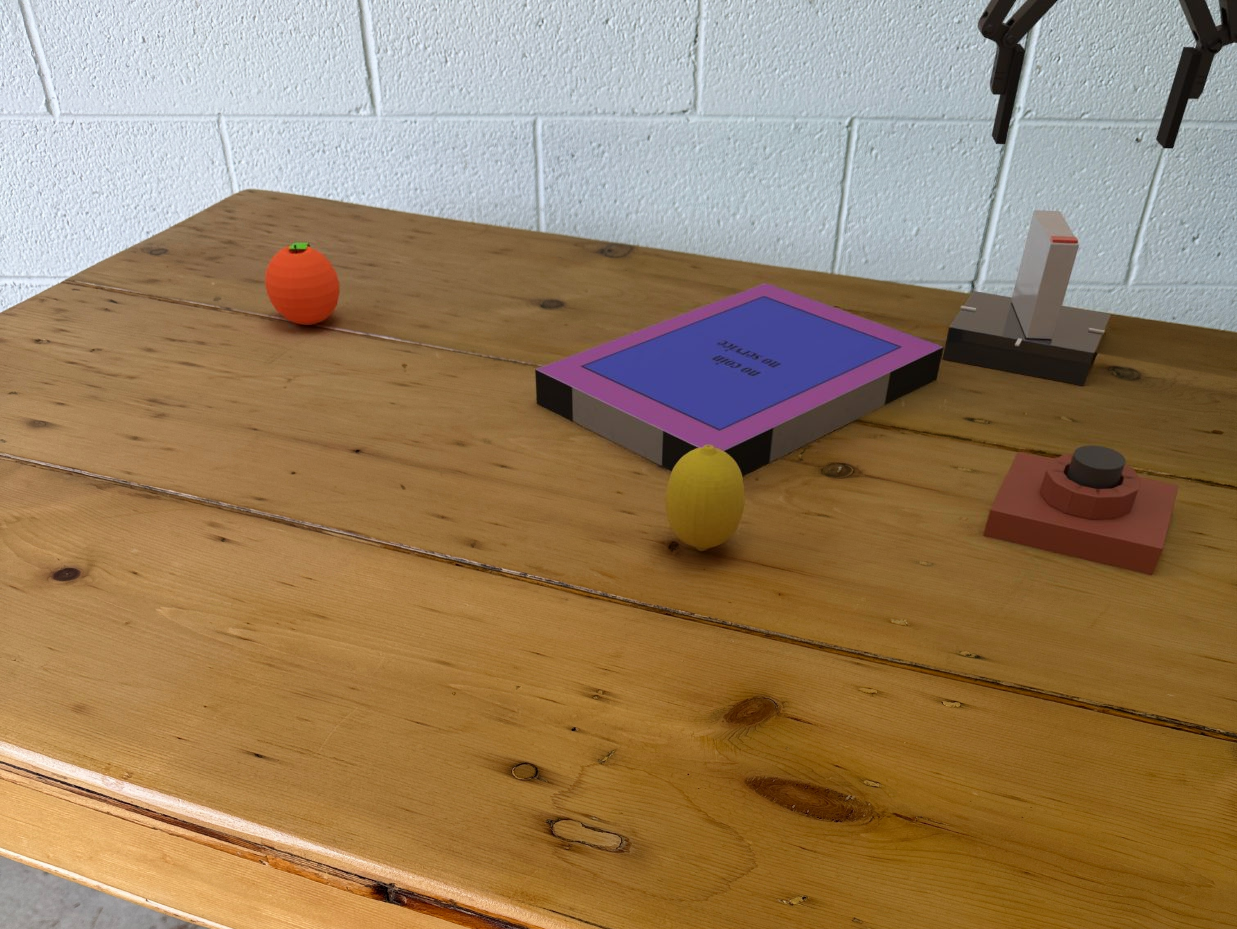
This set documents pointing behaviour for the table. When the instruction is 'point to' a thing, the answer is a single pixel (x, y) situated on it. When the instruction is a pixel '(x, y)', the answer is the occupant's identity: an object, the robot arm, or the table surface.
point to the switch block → (1082, 514)
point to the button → (1096, 467)
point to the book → (738, 378)
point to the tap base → (1024, 340)
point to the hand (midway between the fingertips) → (1080, 142)
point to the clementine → (302, 284)
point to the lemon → (705, 497)
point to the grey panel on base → (1044, 273)
